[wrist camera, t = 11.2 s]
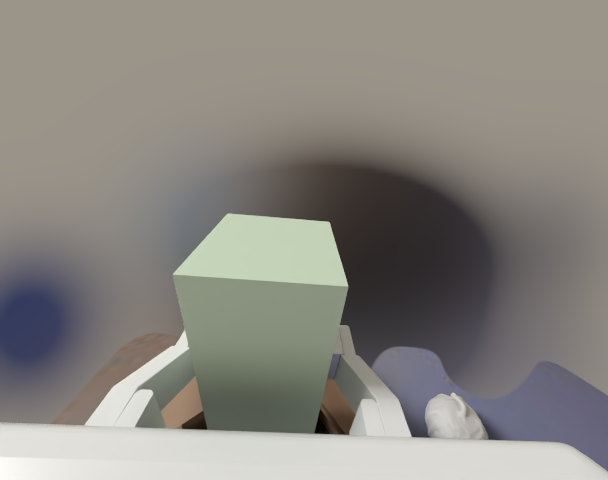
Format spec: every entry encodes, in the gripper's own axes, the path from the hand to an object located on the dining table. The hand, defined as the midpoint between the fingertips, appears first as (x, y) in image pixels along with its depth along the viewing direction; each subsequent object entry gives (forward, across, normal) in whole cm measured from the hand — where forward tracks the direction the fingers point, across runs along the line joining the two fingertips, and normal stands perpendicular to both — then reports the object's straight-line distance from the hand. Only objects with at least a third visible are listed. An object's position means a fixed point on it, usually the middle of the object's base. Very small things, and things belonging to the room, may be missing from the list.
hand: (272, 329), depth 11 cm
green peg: (-1, 0, +6) cm, 7 cm away
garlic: (+3, -19, +19) cm, 27 cm away
